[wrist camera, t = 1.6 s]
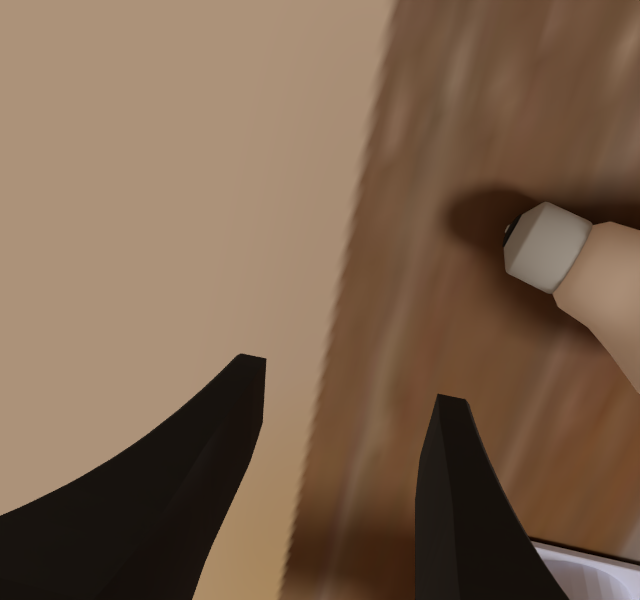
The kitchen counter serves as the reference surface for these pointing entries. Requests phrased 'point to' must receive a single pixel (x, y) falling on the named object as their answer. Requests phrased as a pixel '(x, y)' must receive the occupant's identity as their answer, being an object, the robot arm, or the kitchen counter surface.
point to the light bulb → (583, 274)
